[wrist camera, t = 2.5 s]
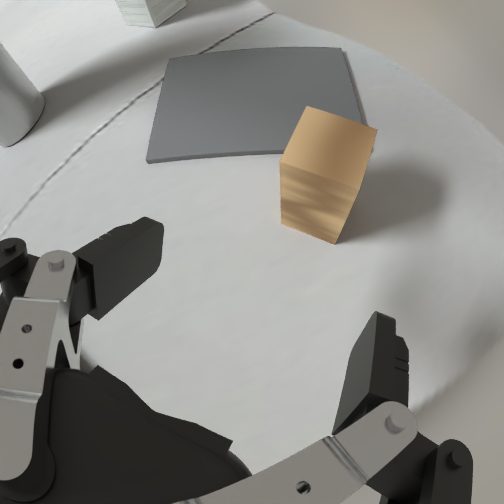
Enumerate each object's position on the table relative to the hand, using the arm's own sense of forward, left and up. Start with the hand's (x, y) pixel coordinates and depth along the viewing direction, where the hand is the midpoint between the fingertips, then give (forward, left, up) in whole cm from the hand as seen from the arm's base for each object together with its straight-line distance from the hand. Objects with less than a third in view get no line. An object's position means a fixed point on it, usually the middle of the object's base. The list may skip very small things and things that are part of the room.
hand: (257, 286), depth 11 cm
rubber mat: (-1, +22, -13) cm, 25 cm away
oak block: (+4, +9, -13) cm, 16 cm away
